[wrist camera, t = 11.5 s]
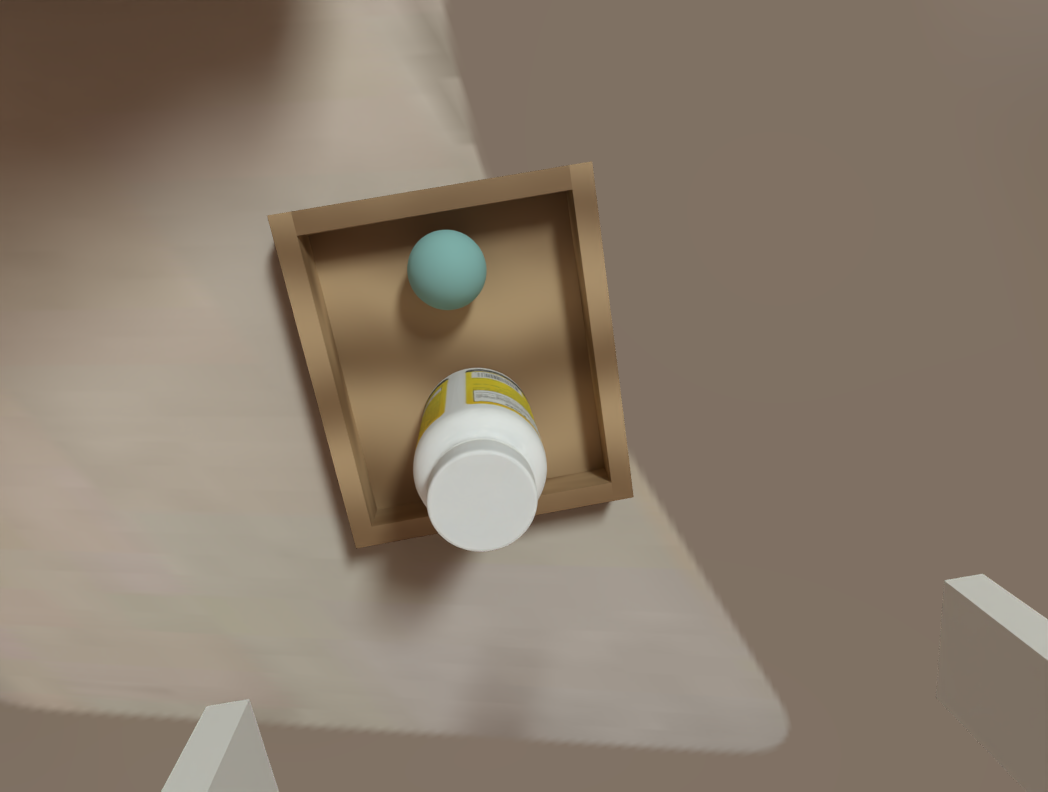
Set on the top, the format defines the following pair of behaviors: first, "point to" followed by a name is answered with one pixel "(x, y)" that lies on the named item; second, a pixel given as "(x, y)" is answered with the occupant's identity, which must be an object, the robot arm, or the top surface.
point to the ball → (446, 269)
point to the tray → (458, 335)
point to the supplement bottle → (479, 460)
